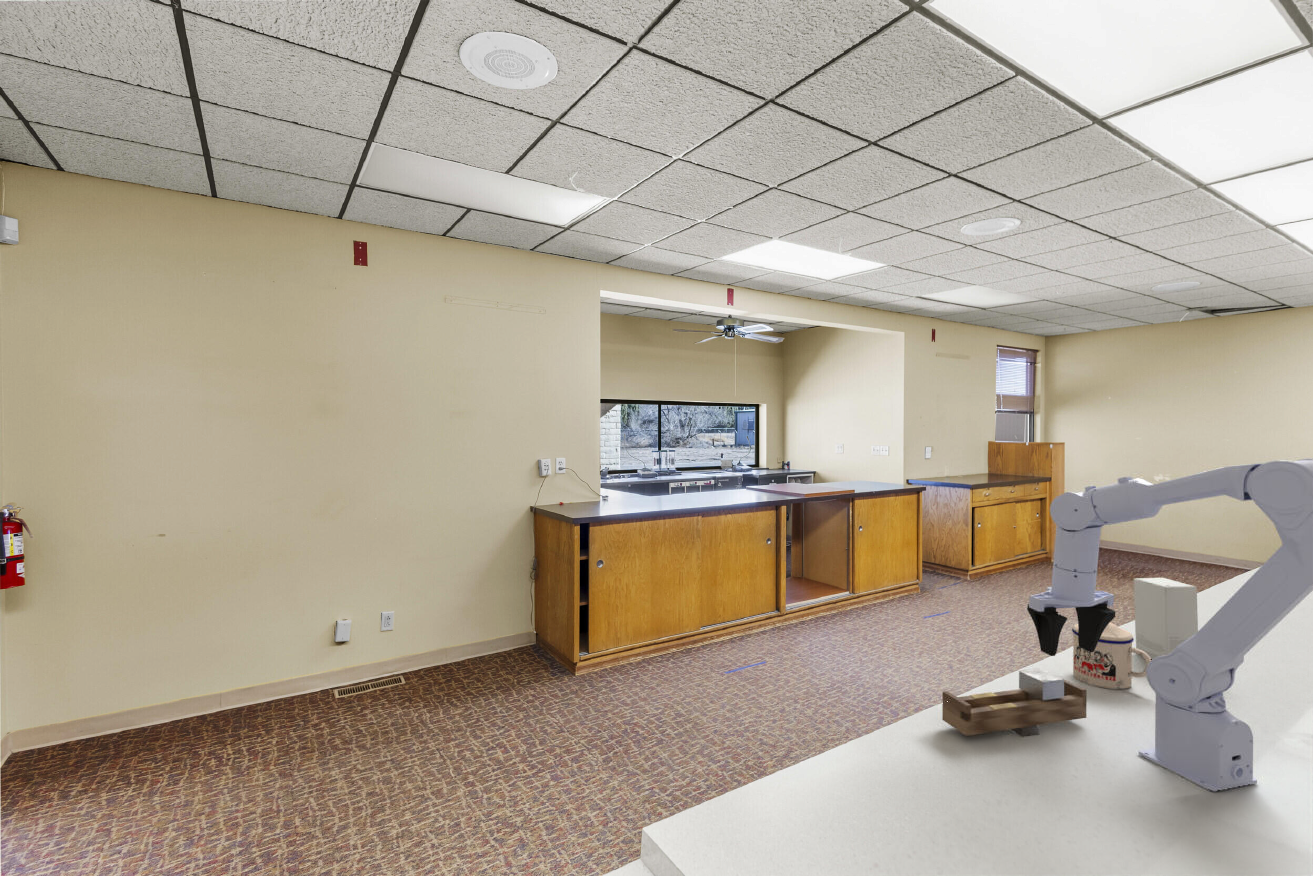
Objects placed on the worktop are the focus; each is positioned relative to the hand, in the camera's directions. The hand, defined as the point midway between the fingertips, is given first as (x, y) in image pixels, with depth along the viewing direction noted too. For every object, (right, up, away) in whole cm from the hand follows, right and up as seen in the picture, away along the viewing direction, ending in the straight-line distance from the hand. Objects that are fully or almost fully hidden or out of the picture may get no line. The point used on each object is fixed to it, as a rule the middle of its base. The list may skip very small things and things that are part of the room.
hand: (1067, 651), depth 97 cm
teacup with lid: (+17, -11, +13) cm, 24 cm away
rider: (-5, -7, -2) cm, 9 cm away
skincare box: (+36, -10, +24) cm, 44 cm away
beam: (-10, -11, -3) cm, 15 cm away
